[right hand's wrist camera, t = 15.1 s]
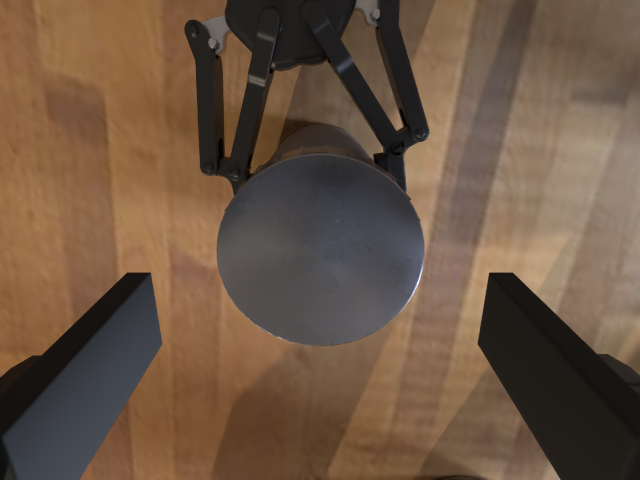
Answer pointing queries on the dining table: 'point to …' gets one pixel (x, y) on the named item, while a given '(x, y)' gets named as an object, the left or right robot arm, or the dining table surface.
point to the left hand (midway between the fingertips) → (329, 247)
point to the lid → (320, 247)
